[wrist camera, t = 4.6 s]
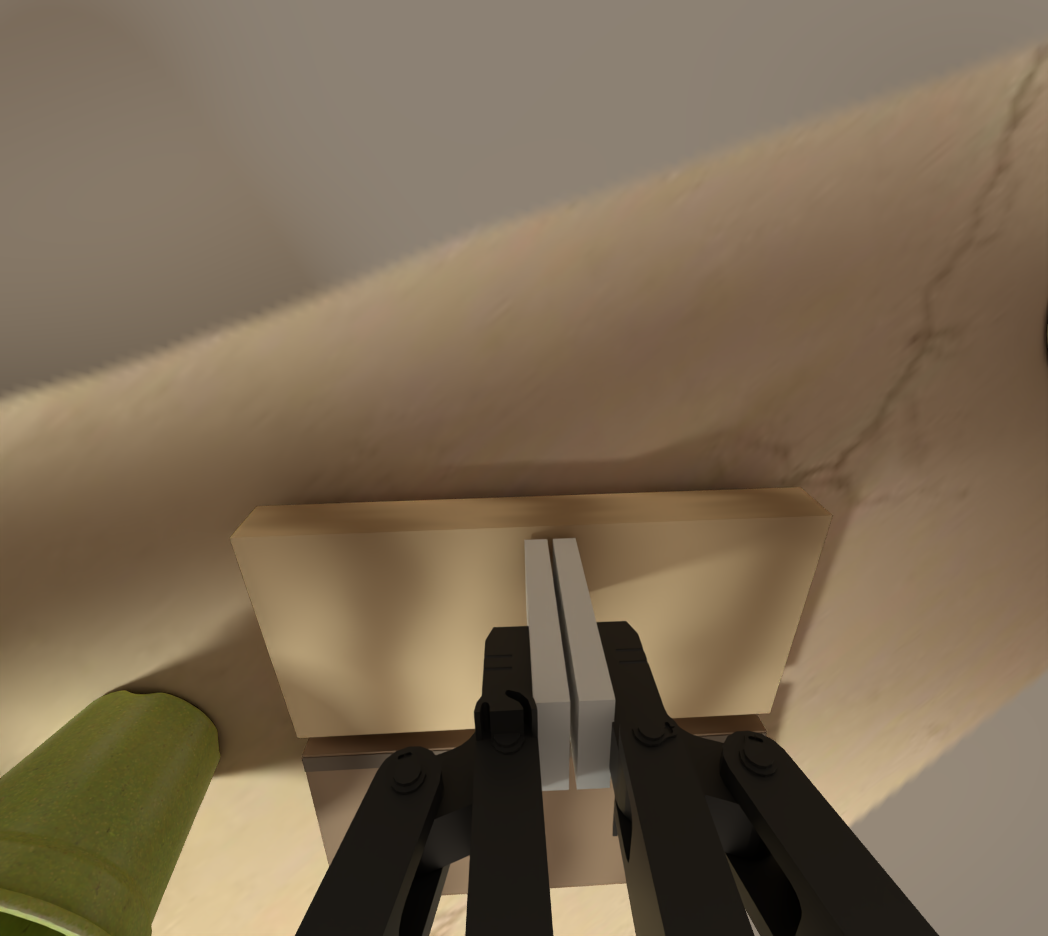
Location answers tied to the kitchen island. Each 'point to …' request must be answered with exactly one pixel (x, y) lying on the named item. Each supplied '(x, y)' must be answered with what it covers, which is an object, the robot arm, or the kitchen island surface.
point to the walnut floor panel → (570, 815)
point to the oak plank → (522, 596)
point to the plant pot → (102, 816)
